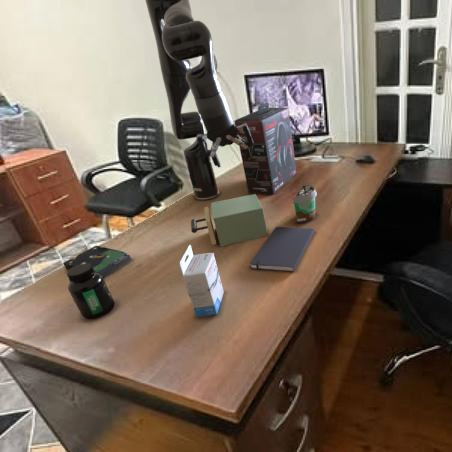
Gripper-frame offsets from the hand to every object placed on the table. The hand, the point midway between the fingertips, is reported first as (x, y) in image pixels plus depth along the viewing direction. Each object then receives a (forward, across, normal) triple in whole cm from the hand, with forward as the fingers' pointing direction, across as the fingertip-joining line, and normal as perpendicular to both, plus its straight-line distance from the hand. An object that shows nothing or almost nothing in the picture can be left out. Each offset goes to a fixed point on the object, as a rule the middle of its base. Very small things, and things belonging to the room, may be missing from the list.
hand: (233, 162), depth 102 cm
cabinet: (+23, +5, +4) cm, 24 cm away
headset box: (+35, -9, -35) cm, 51 cm away
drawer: (+22, +10, +4) cm, 24 cm away
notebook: (+21, -7, +20) cm, 30 cm away
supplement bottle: (+12, +38, +31) cm, 51 cm away
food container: (+27, -18, +2) cm, 32 cm away
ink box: (+14, +12, +38) cm, 42 cm away
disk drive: (+17, +46, +9) cm, 49 cm away
